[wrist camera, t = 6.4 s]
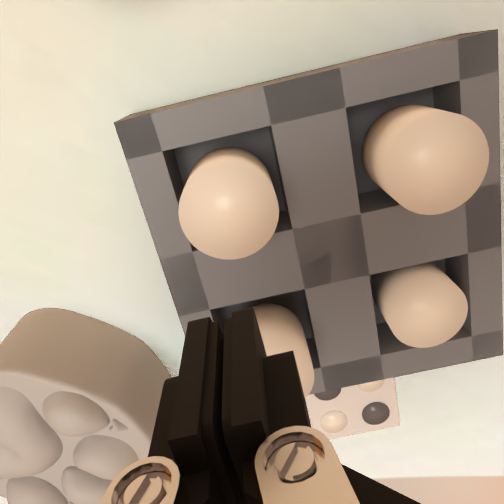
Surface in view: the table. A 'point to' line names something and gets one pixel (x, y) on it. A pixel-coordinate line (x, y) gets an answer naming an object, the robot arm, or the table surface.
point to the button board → (333, 205)
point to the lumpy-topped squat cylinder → (73, 407)
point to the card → (354, 409)
